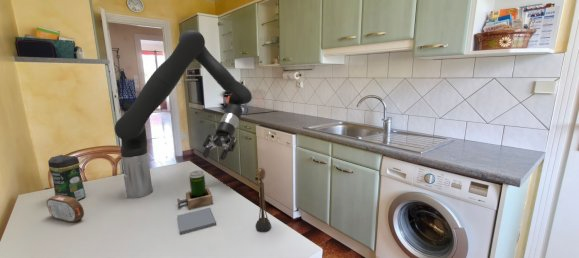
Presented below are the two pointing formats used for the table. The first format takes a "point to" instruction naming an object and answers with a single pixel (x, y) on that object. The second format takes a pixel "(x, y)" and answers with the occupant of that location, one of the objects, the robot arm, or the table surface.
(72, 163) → the coffee jar
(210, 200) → the light wood square frame
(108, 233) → the table surface
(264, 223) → the wooden tabletop sculpture
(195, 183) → the beer can
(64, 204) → the tin
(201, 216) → the slate mat
